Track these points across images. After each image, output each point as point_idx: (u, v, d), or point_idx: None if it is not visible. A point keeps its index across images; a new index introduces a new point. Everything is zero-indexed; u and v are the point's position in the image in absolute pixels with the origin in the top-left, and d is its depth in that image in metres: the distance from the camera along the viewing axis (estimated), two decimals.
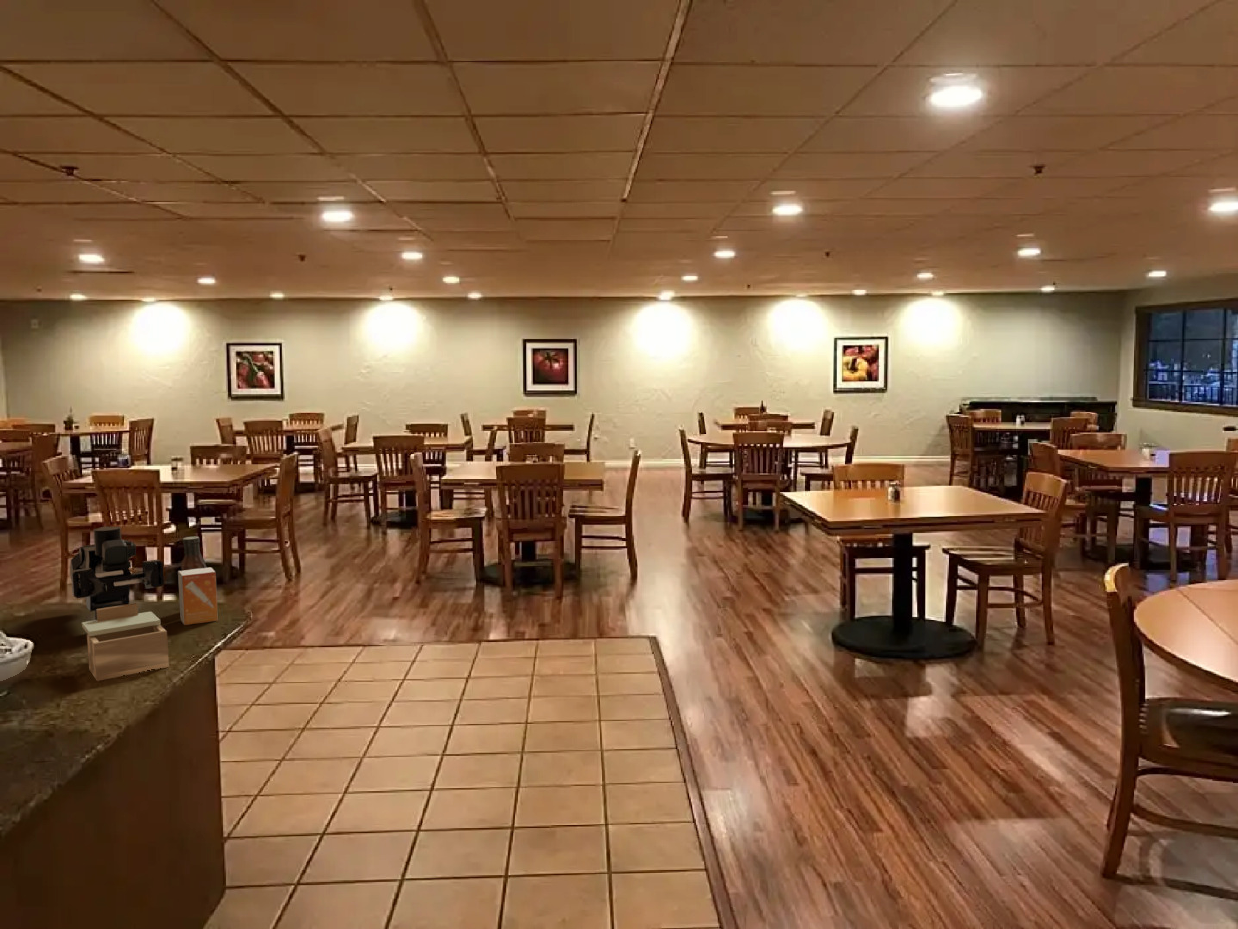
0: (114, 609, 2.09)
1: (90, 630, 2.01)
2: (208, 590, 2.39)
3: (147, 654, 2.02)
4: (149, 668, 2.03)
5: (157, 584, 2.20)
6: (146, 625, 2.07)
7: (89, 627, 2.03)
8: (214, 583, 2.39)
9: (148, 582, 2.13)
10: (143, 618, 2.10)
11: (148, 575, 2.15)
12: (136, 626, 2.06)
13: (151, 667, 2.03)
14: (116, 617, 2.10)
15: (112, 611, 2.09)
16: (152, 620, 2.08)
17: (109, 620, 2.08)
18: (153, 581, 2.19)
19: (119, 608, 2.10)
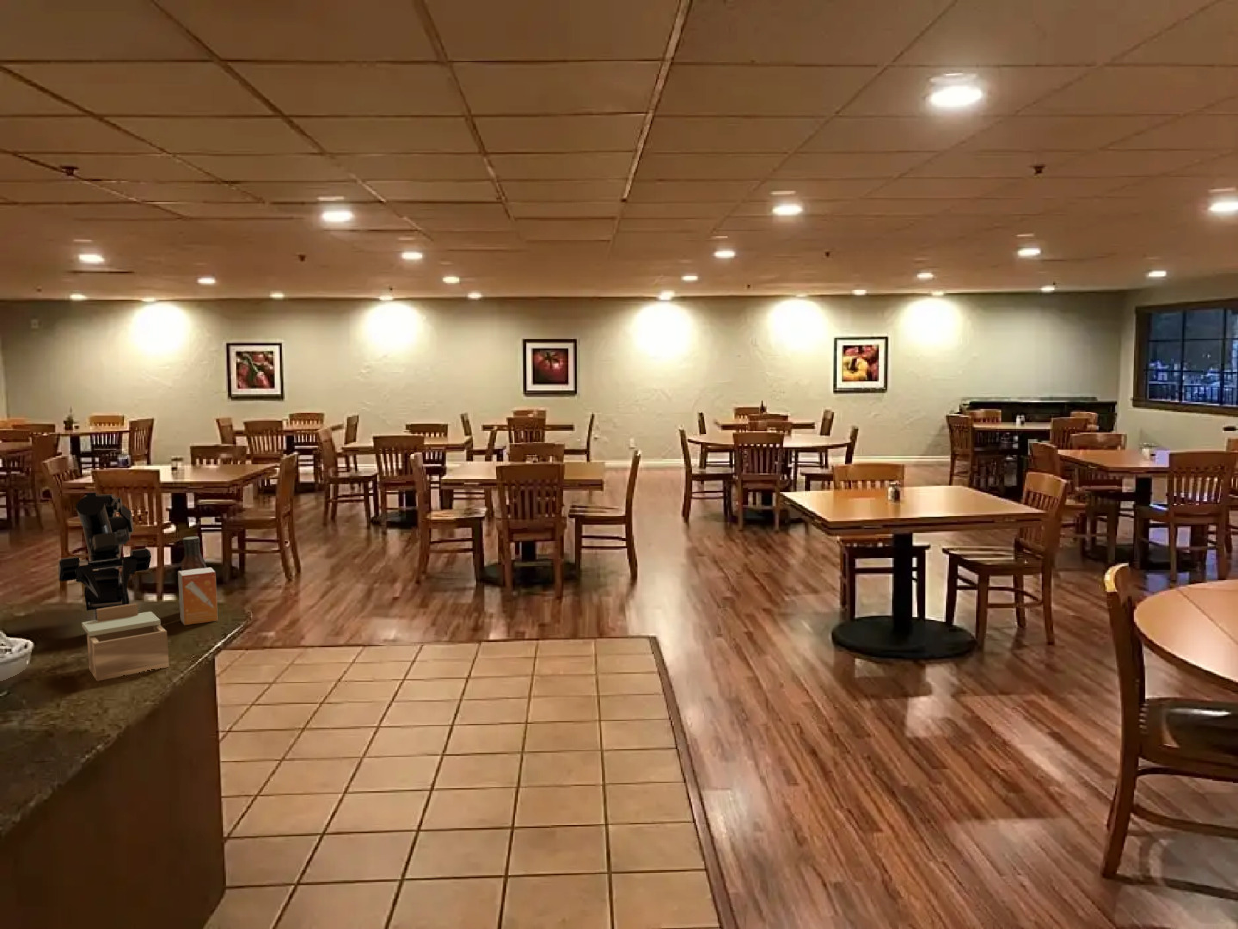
0: (114, 609, 2.09)
1: (90, 630, 2.01)
2: (208, 590, 2.39)
3: (147, 654, 2.02)
4: (149, 668, 2.03)
5: (133, 573, 2.22)
6: (146, 625, 2.07)
7: (89, 627, 2.03)
8: (214, 583, 2.39)
9: (125, 592, 2.16)
10: (143, 618, 2.10)
11: (126, 580, 2.16)
12: (136, 626, 2.06)
13: (151, 667, 2.03)
14: (116, 617, 2.10)
15: (112, 611, 2.09)
16: (152, 620, 2.08)
17: (109, 620, 2.08)
18: (130, 571, 2.21)
19: (119, 608, 2.10)
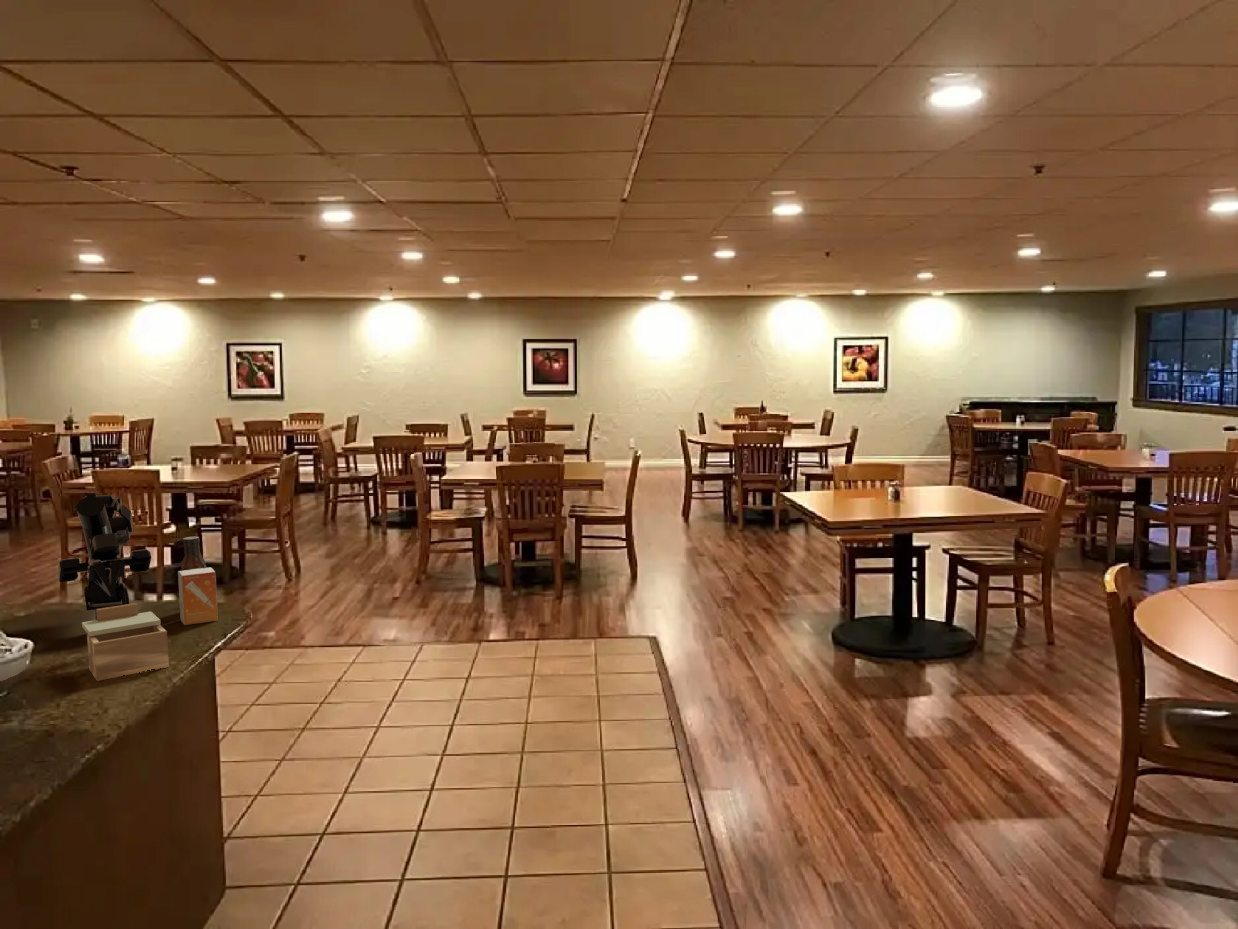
0: (114, 609, 2.09)
1: (90, 630, 2.01)
2: (208, 590, 2.39)
3: (147, 654, 2.02)
4: (149, 668, 2.03)
5: (121, 575, 2.20)
6: (146, 625, 2.07)
7: (89, 627, 2.03)
8: (214, 583, 2.39)
9: (113, 594, 2.14)
10: (143, 618, 2.10)
11: (114, 582, 2.15)
12: (136, 626, 2.06)
13: (151, 667, 2.03)
14: (116, 617, 2.10)
15: (112, 611, 2.09)
16: (152, 620, 2.08)
17: (109, 620, 2.08)
18: (118, 574, 2.19)
19: (119, 608, 2.10)
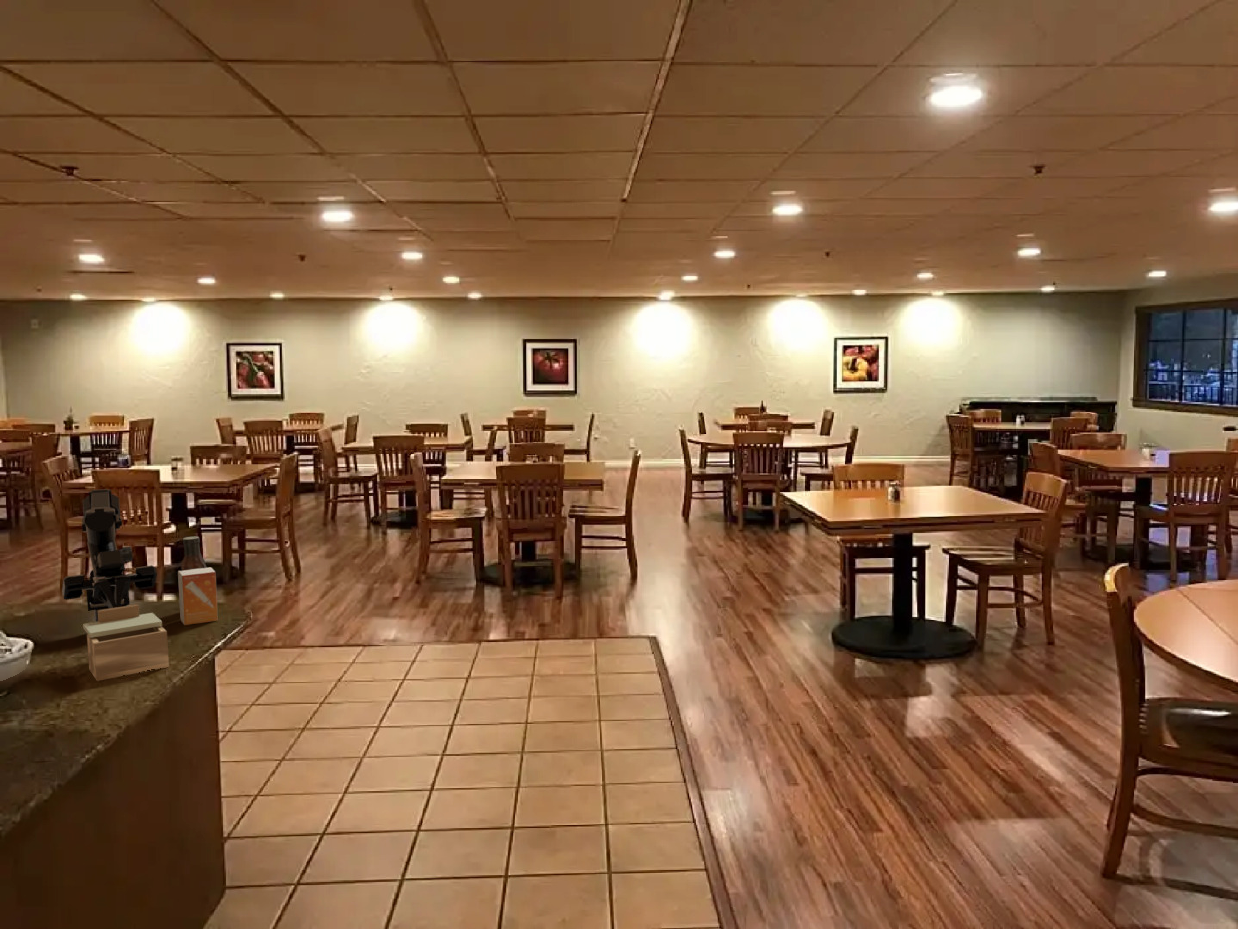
0: (115, 610, 2.08)
1: (91, 631, 2.00)
2: (208, 590, 2.39)
3: (147, 654, 2.02)
4: (149, 668, 2.03)
5: (127, 592, 2.17)
6: (147, 626, 2.06)
7: (90, 628, 2.02)
8: (214, 583, 2.39)
9: None
10: (144, 619, 2.09)
11: (119, 600, 2.11)
12: (137, 627, 2.04)
13: (151, 667, 2.03)
14: (117, 618, 2.09)
15: (113, 612, 2.08)
16: (153, 621, 2.07)
17: (110, 621, 2.07)
18: (123, 591, 2.16)
19: (120, 609, 2.09)
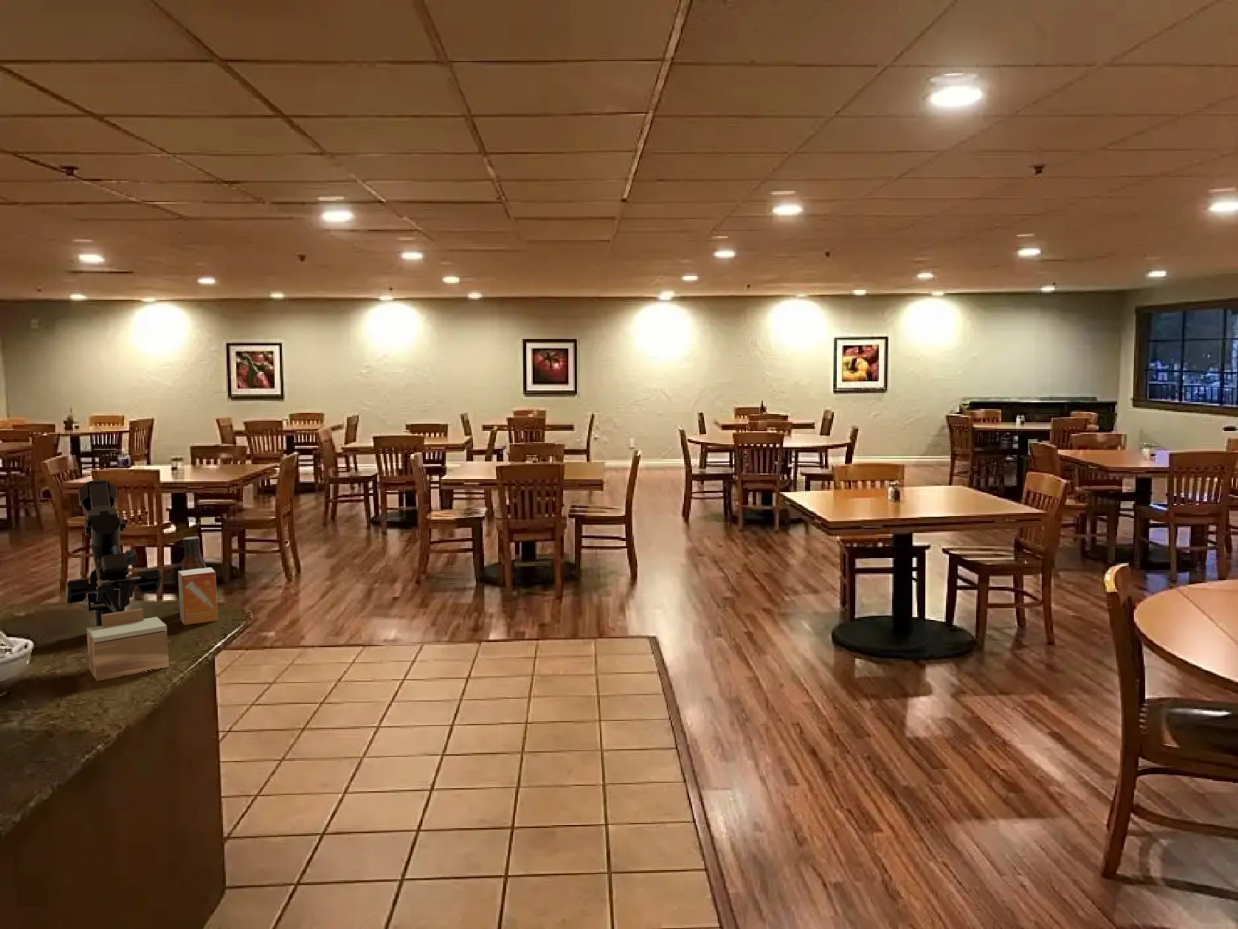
0: (119, 614, 2.05)
1: (95, 636, 1.96)
2: (208, 590, 2.39)
3: (147, 654, 2.02)
4: (149, 668, 2.03)
5: (131, 596, 2.13)
6: (152, 631, 2.02)
7: (94, 633, 1.99)
8: (214, 583, 2.39)
9: None
10: (149, 624, 2.05)
11: (123, 604, 2.08)
12: (142, 632, 2.01)
13: (151, 667, 2.03)
14: (121, 623, 2.05)
15: (117, 616, 2.05)
16: (158, 626, 2.04)
17: (114, 626, 2.04)
18: (127, 594, 2.12)
19: (124, 613, 2.06)
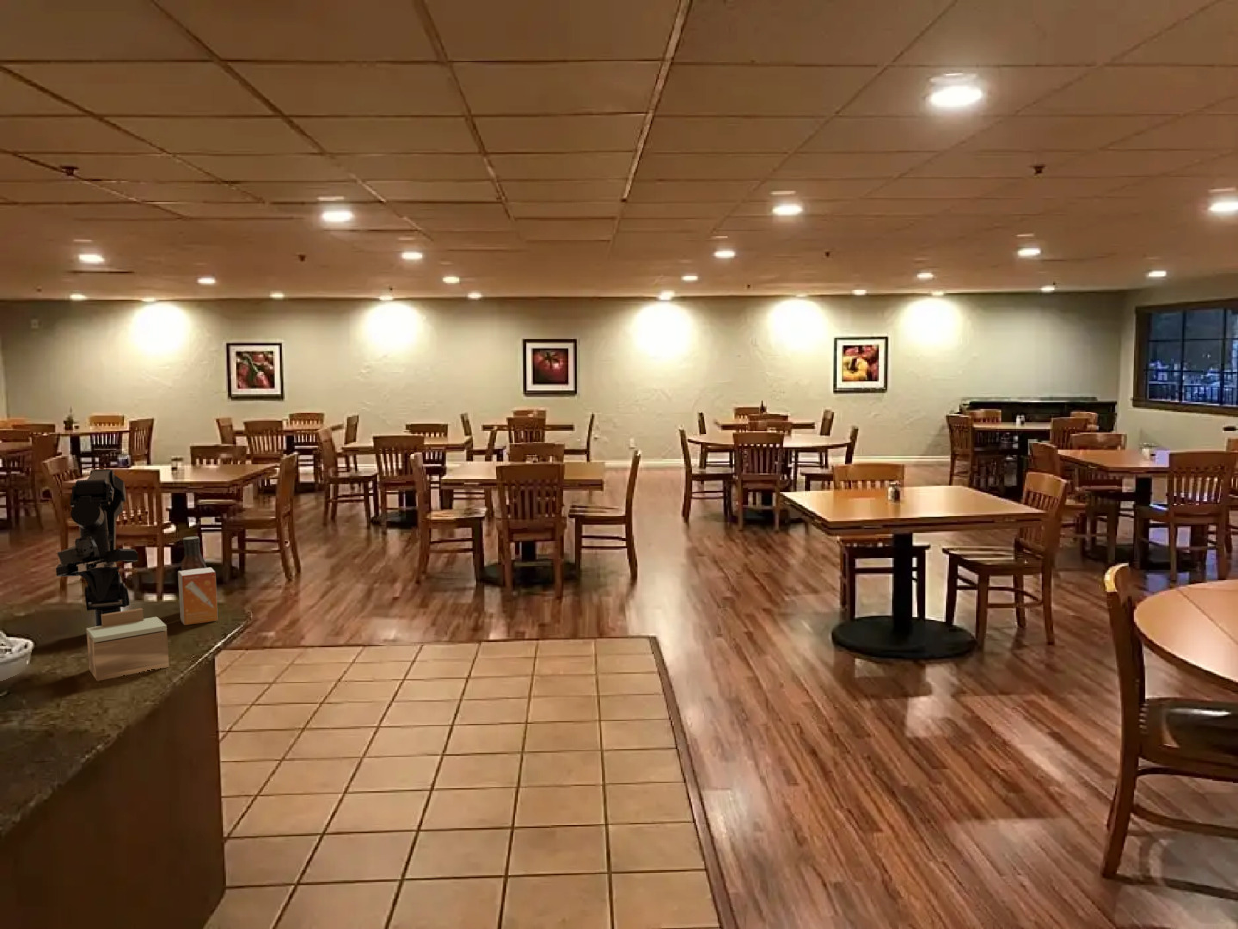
0: (119, 614, 2.05)
1: (95, 636, 1.96)
2: (208, 590, 2.39)
3: (147, 654, 2.02)
4: (149, 668, 2.03)
5: (117, 569, 2.15)
6: (152, 631, 2.02)
7: (94, 633, 1.99)
8: (214, 583, 2.39)
9: None
10: (149, 624, 2.05)
11: (98, 588, 2.12)
12: (142, 632, 2.01)
13: (151, 667, 2.03)
14: (121, 622, 2.05)
15: (117, 616, 2.05)
16: (158, 626, 2.04)
17: (114, 626, 2.04)
18: (111, 570, 2.14)
19: (124, 613, 2.06)
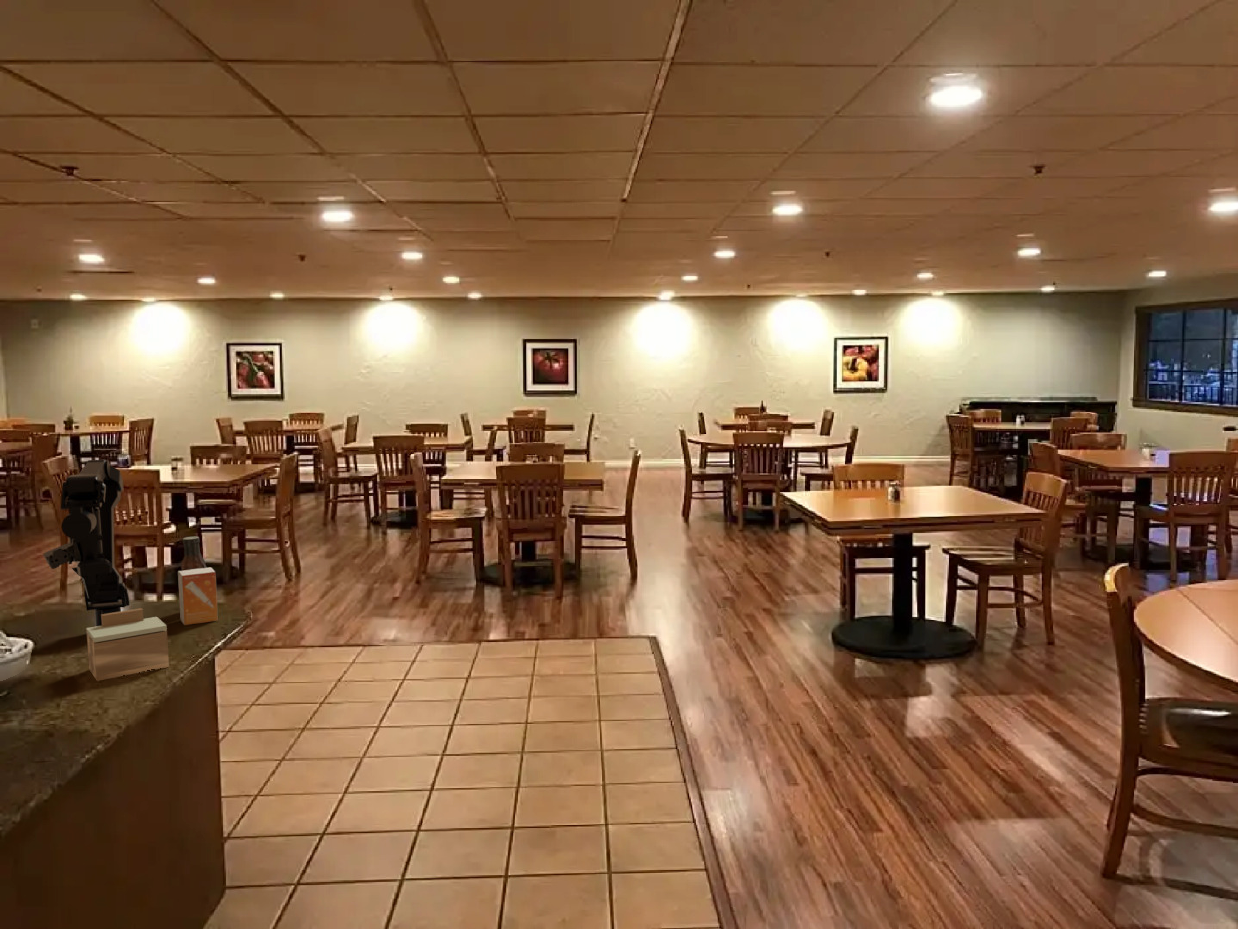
0: (119, 614, 2.05)
1: (95, 636, 1.96)
2: (208, 590, 2.39)
3: (147, 654, 2.02)
4: (149, 668, 2.03)
5: None
6: (152, 631, 2.02)
7: (94, 633, 1.99)
8: (214, 583, 2.39)
9: None
10: (149, 624, 2.05)
11: (86, 588, 2.11)
12: (142, 632, 2.01)
13: (151, 667, 2.03)
14: (121, 622, 2.05)
15: (117, 616, 2.05)
16: (158, 626, 2.04)
17: (114, 626, 2.04)
18: None
19: (124, 613, 2.06)
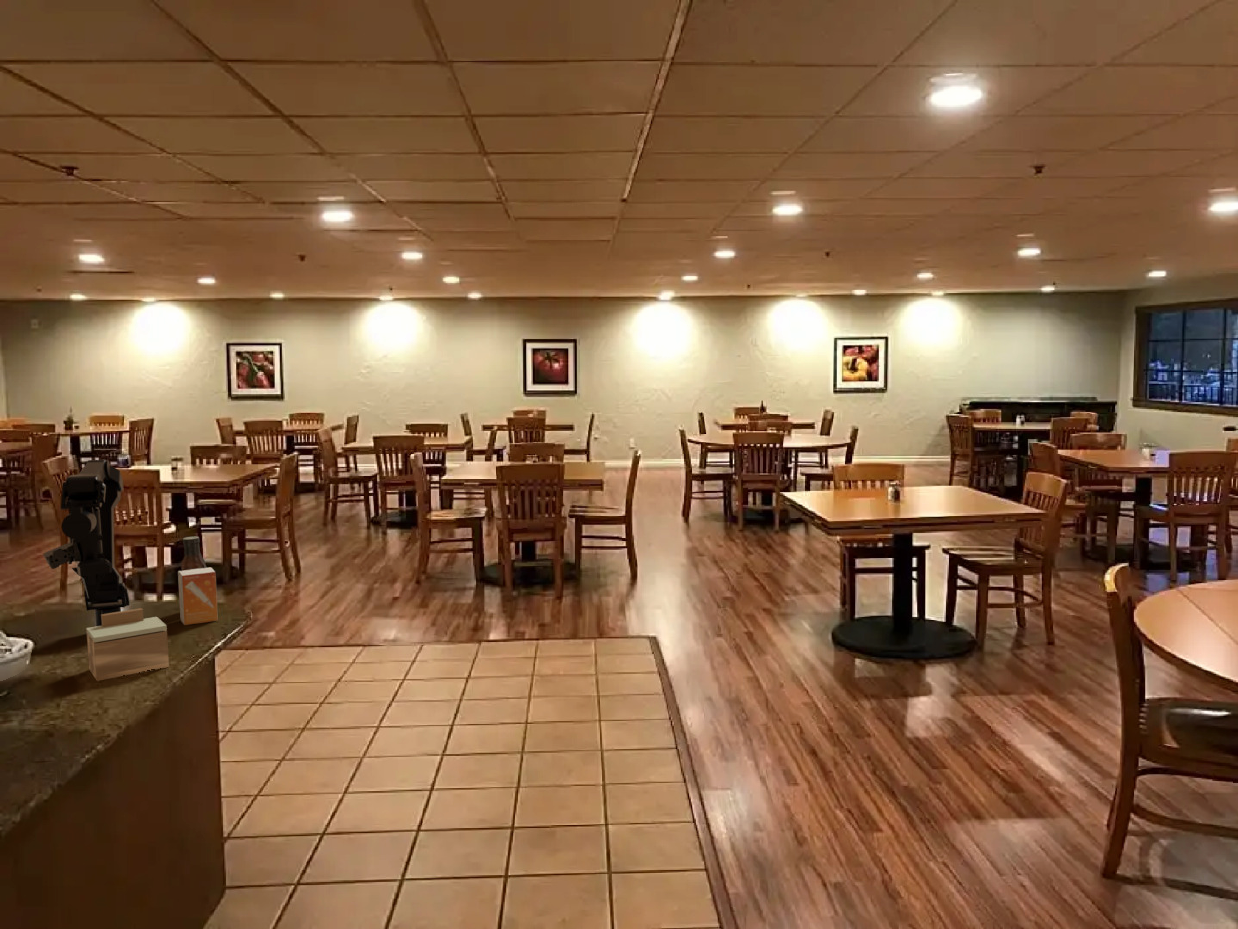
0: (119, 614, 2.05)
1: (95, 636, 1.96)
2: (208, 590, 2.39)
3: (147, 654, 2.02)
4: (149, 668, 2.03)
5: None
6: (152, 631, 2.02)
7: (94, 633, 1.99)
8: (214, 583, 2.39)
9: None
10: (149, 624, 2.05)
11: (86, 588, 2.11)
12: (142, 632, 2.01)
13: (151, 667, 2.03)
14: (121, 622, 2.05)
15: (117, 616, 2.05)
16: (158, 626, 2.04)
17: (114, 626, 2.04)
18: None
19: (124, 613, 2.06)
